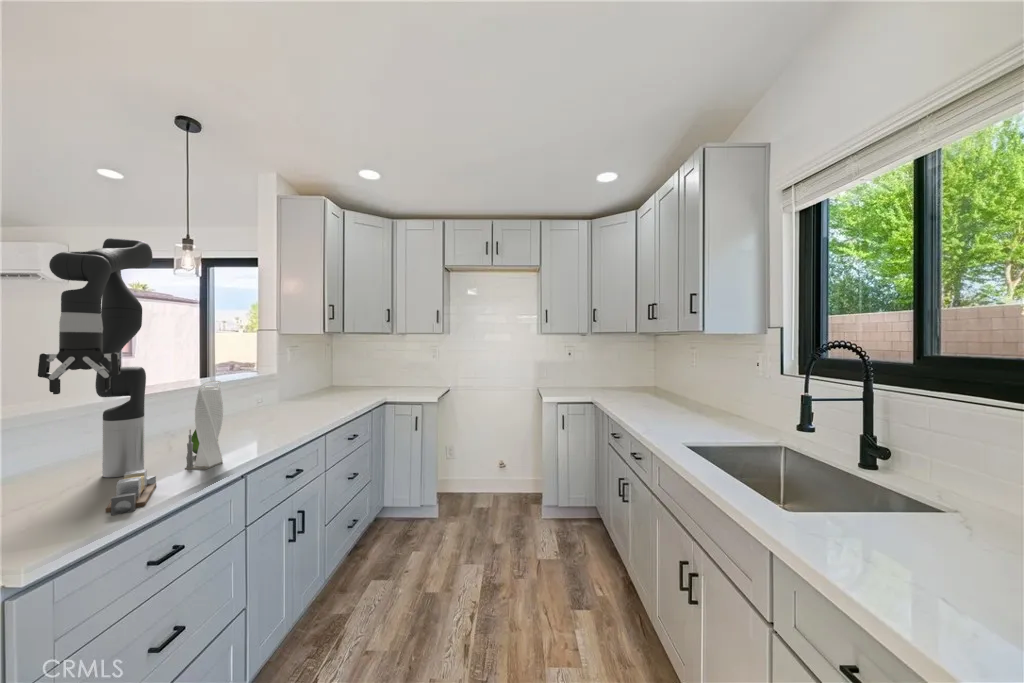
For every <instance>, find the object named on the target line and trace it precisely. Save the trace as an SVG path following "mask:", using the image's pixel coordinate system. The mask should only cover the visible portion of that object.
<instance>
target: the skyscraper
mask: <svg viewBox="0 0 1024 683" xmlns="http://www.w3.org/2000/svg"><path fill="white" fill-rule="evenodd" d="M211 383H212V384H213V383H218V384H217V386H215V385H207V384H211ZM221 383H222V381H221V380H210V381H206V382H204V383H202V384H201V385H200V386H199V387H198V389H197V396H196V401H195V408H194V425H195V426H194V427H195V429H196V432H197V436H198V440H199V448H198V452H197V454H196V459H195V461H194V455H193V454H194V452H193V451H192V450H193V442H192V441H191V438H192V435H193V434H192V429H189V430H188V431H189V432H188V433H189V434H188V442H187V443H186V447H187V451H186V452H187V453H186V457H185V458H186V467H184V470H193V471H194V470H197V471H199V470H200V471H201V470H204V471H205V470H208V469H211V468H213V467H217V466H218V465H221V464H223V461H224V460H223V457H222V453H221V447H220V444H219V436H220V434H221V429H222V426H223V425H222V424H223V420H224V419H223V418H224V405H223V396H222V393H221V392H222V391H221V387H220V385H221ZM205 385H206V386H205Z"/></svg>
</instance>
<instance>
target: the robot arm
mask: <svg viewBox="0 0 1024 683" xmlns="http://www.w3.org/2000/svg"><path fill="white" fill-rule="evenodd" d="M152 263H153V252H152V248H151V246H150V245H149V244H148V243H147V242H146V241H143V240H139V239H130V238H129V239H128V238H115V237H114V238H113V237H112V238H111V237H110V238H106V239H105V240H104V242H103V243H102V248H95V249H91V250H88V251H87V250H86V251H63V252H62V251H61V252H59V253H56V254H54V255H53V256H52V258H51V259H50V260H49V265H48V266H49V267H48V268H49V269H50V272H51V273H52V274H53V275H54V276H56V277H57V278H59V279H61V280H64V281H71V282H72V281H73V282H77V281H78V282H87V283H86V284H85V285H84V286H83V287H82V288H77V289H68V290H64V291H62V293H61V294H60V316H59V322H58V324H59V328H58V329H59V330H58V331H59V332H58V338H59V340H58V343H59V344H58V349H59V350H58V352H57V353H48V352H44V353H41V354H39V356H38V365H37V367H38V369H37V377H39V378H44V379H47V380H48V381H49V385H48V386H49V390H48V391H49V392H50V393H52V394H53V395H60V394H61V379H60V378H61V377H62V376H63V374H65V373H66V372H68V371H69V370H71V371H77V370H83V371H85V370H92V369H93V370H94V371H95V372H96V375H95V391H96V394H97V396H98V397H100V398H113V397H115V398H117V397H130V399H129V400H127V401H126V402H124V403H122V404H120V405H117V406H114V407H110V408H107V409H105V410H104V411H103V412H102V471H101V472H102V477H103V478H118V477H124V474H125V473H126V472H130V471H137V470H145V396H146V394H145V393H146V385H147V384H146V383H147V375H146V374H147V373H146V371H145V368H144V367H143V366H121V357H120V352H122V350H123V349H124V347H125V346H126V345H127V344H128V343H129V342H130V341H131V340H132V339H133V338H134V337H135V336H136V335H137V334H138V333H139V331H140V330H141V328H142V325H143V307H142V303H141V302H140V301H139V299H138V298H137V297H136V295H135V294H134V293H133V292H132V291H131V290H130V289H129V288H128V286H127V285H126V283H125V282H124V280H123V277H122V274H121V271H123V270H127V269H144V268H148V267H150V265H152ZM55 359H56V360H58V361H59V362H60V363H61V364H60V365H59V366H58V367H56V369H55V370H54V371H53V372H50V367H51V363H52V362H54V361H55Z"/></svg>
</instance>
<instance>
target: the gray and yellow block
mask: <svg viewBox="0 0 1024 683" xmlns="http://www.w3.org/2000/svg"><path fill="white" fill-rule="evenodd" d="M147 473H148V470H147V469H145V468H144V470H137V471H130V472H126V473H125V474H124V476H123V478H122V479H119V480H118V481H117V482H116V494H115V496H118V495H124V494H131V493H136V500H139V498H140V497H141V492H142V491H145V489H146V488H147V476H148V474H147Z"/></svg>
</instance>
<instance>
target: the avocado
mask: <svg viewBox="0 0 1024 683" xmlns="http://www.w3.org/2000/svg"><path fill="white" fill-rule="evenodd" d="M191 435H192V438H191V441H192V442H193V450H192V453H193V454H196V455H197V452H198V448H199V440H198V436H197V432H196V428H194V432H192V434H191Z"/></svg>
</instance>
